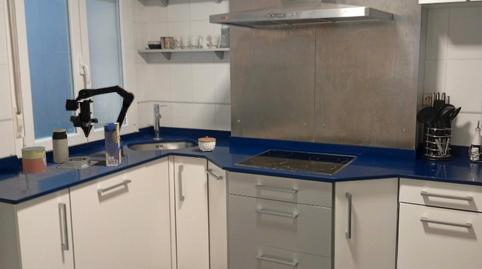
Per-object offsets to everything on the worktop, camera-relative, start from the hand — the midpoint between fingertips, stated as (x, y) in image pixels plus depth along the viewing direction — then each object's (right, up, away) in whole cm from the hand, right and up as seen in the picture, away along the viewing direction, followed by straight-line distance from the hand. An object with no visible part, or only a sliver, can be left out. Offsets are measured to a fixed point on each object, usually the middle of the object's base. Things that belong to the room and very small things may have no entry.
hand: (86, 137), depth 268 cm
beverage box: (+20, -15, -14) cm, 28 cm away
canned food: (-17, -18, -30) cm, 39 cm away
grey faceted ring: (+1, -15, -17) cm, 23 cm away
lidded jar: (+69, -9, +18) cm, 71 cm away
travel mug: (-12, -14, -8) cm, 20 cm away
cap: (+1, -14, -17) cm, 22 cm away
